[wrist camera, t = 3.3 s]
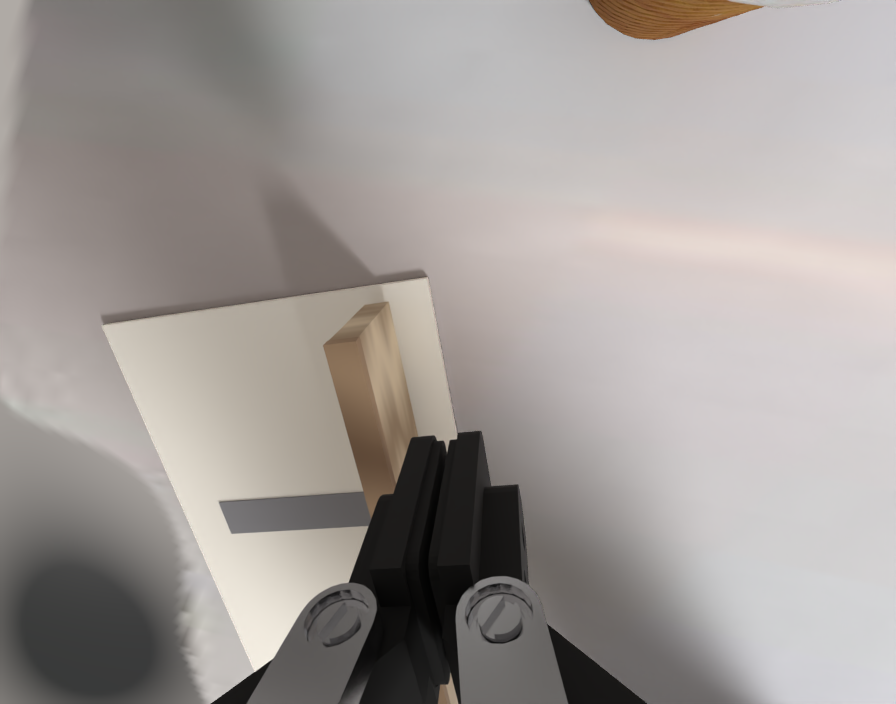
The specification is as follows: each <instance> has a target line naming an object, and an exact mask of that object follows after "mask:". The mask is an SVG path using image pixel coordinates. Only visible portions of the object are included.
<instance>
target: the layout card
mask: <svg viewBox="0 0 896 704" xmlns="http://www.w3.org/2000/svg"><path fill="white" fill-rule="evenodd" d="M388 301H389V305H390V310H391V314H392V319H393V323H394V328H395V333H396V337H397V342H398V346H399V351H400V355H401V360H402V364H403V369H404V374H405V378H406V383H407V387H408V392H409V396H410V401H411V406H412V410H413V415H414V419H415V424H416V428H417V433H418V437H420V436H431V435H434V436H435V437H436V439H437V441H444V442H445V446H446V450H447V451H448V446H449V441H450V440H454V439H457V429H456V424H455V419H454V413H453V408H452V402H451V397H450V392H449V386H448V381H447V376H446V370H445V365H444V359H443V354H442V349H441V343H440V338H439V333H438V327H437V322H436V316H435V311H434V306H433V300H432V295H431V290H430V284H429V279H428V277H423V278H416V279H409V280H402V281H396V282H389V283H382V284H375V285H368V286H361V287H354V288H348V289H341V290H334V291H327V292H320V293H313V294H306V295H300V296H293V297H286V298H279V299H272V300H265V301H259V302H252V303H245V304H238V305H231V306H224V307H217V308H211V309H204V310H197V311H190V312H183V313H176V314H170V315H163V316H156V317H149V318H142V319H135V320H128V321H122V322H115V323H108V324H105V325H102V328H103V330H104V333H105V335H106V337H107V339H108V342H109V344H110V346H111V348H112V351H113V353H114V355H115V358H116V360H117V362H118V364H119V367H120V369H121V371H122V373H123V376H124V378H125V380H126V382H127V385H128V387H129V389H130V391H131V394H132V396H133V398H134V400H135V403H136V405H137V407H138V409H139V412H140V414H141V416H142V418H143V421H144V423H145V425H146V428H147V430H148V432H149V434H150V437H151V439H152V441H153V443H154V446H155V448H156V450H157V452H158V455H159V457H160V459H161V461H162V464H163V466H164V468H165V470H166V473H167V475H168V477H169V479H170V482H171V484H172V486H173V488H174V491H175V493H176V495H177V497H178V500H179V502H180V504H181V507H182V509H183V511H184V513H185V516H186V518H187V520H188V522H189V525H190V527H191V529H192V531H193V534H194V536H195V538H196V540H197V543H198V545H199V547H200V549H201V552H202V554H203V556H204V558H205V561H206V563H207V565H208V567H209V570H210V572H211V574H212V577H213V579H214V581H215V583H216V586H217V588H218V590H219V592H220V595H221V597H222V599H223V601H224V604H225V606H226V608H227V610H228V613H229V615H230V617H231V619H232V622H233V624H234V626H235V628H236V631H237V633H238V635H239V637H240V640H241V642H242V644H243V647H244V649H245V651H246V653H247V656H248V658H249V660H250V662H251V665H252V667H253V669H254V671H257V670H258V669H259V668H261V667H262V666H264V665H265V664H266V663H268V662H269V661H271V660H272V659H273V658H274V657H275V655H276V653H277V652H278V650H279V648H280V646H281V645H282V643H283V641H284V640H285V638H286V636H287V635H288V633H289V631H290V630H291V628H292V626H293V625H294V623H295V621H296V619H297V618H298V616H299V614H300V613H301V611H302V610H303V609H304V607H305V606H306V605H307V604H308V602H309V601H310V600H312V599H313V598H314V597H315V596H316V595H317V594H319V593H320V592H322V591H324V590H326V589H328V588H329V587H332V586H335V585H338V584H342V583H349V580H350V577H351V574H352V571H353V569H354V566H355V563H356V560H357V557H358V555H359V552H360V549H361V546H362V543H363V541H364V538H365V535H366V532H367V529H368V527H369V524H370V521H371V517H370V513H369V510H368V506H367V502H366V499H365V495H364V492H363V488H362V484H361V481H360V477H359V474H358V470H357V466H356V463H355V459H354V456H353V452H352V448H351V445H350V441H349V438H348V434H347V430H346V427H345V423H344V420H343V416H342V412H341V409H340V405H339V402H338V398H337V394H336V391H335V387H334V384H333V380H332V376H331V373H330V369H329V366H328V362H327V358H326V355H325V351H324V348H323V345H324V344H325V343H326V342H327V341H329V340H330V339H331V338H332V337H333V336H334V335H335V334H336V333H337V332H338V331H339V330H340V329H341V328H342V327H343V326H344V325H345V324H346V323H347V322H348V321H349V320H350V319H351V318H352V317H353V316H354V315H355V314H356V313H357V312H358V311H359V310H360V309H361V308H362V307H363V306H364V305H367V304H374V303H381V302H388ZM438 704H458V700H457V696H456V692H455V688H454V684H453V680H452V676H451V673H450V681H449V684H448V685H440V691H439V700H438Z"/></svg>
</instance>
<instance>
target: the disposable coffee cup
mask: <svg viewBox="0 0 896 704" xmlns="http://www.w3.org/2000/svg"><path fill="white" fill-rule="evenodd" d="M589 1H590V3H591V5H592V6H593V8H594V10H595V11H596V13H597V14H598V15H599V16H600V17H601V18H602V19H603V20H604V21H605V22H606V23H607V24H608V25H610V26H611V27H613V28H614V29H616V30H618V31H619V32H621V33H623V34H625V35H628V36H631V37H633V38H639V39H652V40H656V39H663V38H670V37H673V36H676V35H679V34H682V33H685V32H687V31H690V30H693V29H696V28H699V27H702V26H705V25H709V24H713V23H715V22H718V21H721V20H724V19H727V18H730V17H733V16H737V15H740V14H743V13H745V12H748V11H751V10H755V9H759V8H762V7H764V6H765V7H772V8H787V7H798V6H809V5H819V4H829V3H833V2H837V1H841V0H589Z"/></svg>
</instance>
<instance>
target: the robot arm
mask: <svg viewBox="0 0 896 704" xmlns="http://www.w3.org/2000/svg"><path fill="white" fill-rule="evenodd" d="M450 673H451V676H452V680H453V684H454V688H455V692H456V696H457V700H458V704H647V703H646V702H644V701H643V700H642V699H640V698H639V697H638V696H637V695H635V694H634V693H633V692H632V691H630V690H629V689H628V688H627V687H625V686H624V685H623V684H622V683H620V682H619V681H618V680H617V679H615V678H614V677H613V676H612V675H610V674H609V673H608V672H607V671H605V670H604V669H603V668H602V667H600V666H599V665H598V664H597V663H595V662H594V661H593V660H592V659H590V658H589V657H588V656H587V655H585V654H584V653H583V652H582V651H580V650H579V649H578V648H577V647H575V646H574V645H573V644H572V643H570V642H569V641H568V640H567V639H565V638H564V637H563V636H562V635H560V634H559V633H558V632H556V631H555V630H554V629H553V628H551V627H550V626H549V625H548V624H547V622H546V618H545V615H544V611H543V607H542V604H541V602H540V599H539V597H538V595H537V593H536V592H535V591H534V590H533V589H532V588H531V587H530V586H529V581H528V565H527V550H526V538H525V528H524V519H523V511H522V504H521V497H520V491H519V486H518V485H505V486H491V483H490V477H489V471H488V465H487V459H486V453H485V447H484V441H483V436H482V432H481V431H474V432H463V433H458V435H457V439H454V440H450V441H449V446H448V451H447V450H446V446H445V442H444V441H437V439H436V437H435V436H434V435H431V436H420V437H412V438H411V440H410V443H409V446H408V449H407V452H406V455H405V458H404V461H403V465H402V468H401V471H400V474H399V477H398V480H397V483H396V487H395V490H394V493H393V494H383V495H381V496H380V497H379V499H378V501H377V504H376V507H375V510H374V513H373V515H372V518H371V521H370V524H369V527H368V529H367V532H366V535H365V538H364V541H363V543H362V546H361V549H360V552H359V555H358V557H357V560H356V563H355V566H354V569H353V571H352V574H351V577H350V580H349V583H342V584H338V585H335V586H332V587H329V588H328V589H326V590H324V591H322V592H320V593H319V594H317V595H316V596H315V597H314V598H313V599H312V600H310V601H309V602H308V604H307V605H306V606H305V607H304V609H303V610H302V611H301V613H300V614H299V616H298V618H297V619H296V621H295V623H294V625H293V626H292V628H291V630H290V631H289V633H288V635H287V636H286V638H285V640H284V641H283V643H282V645H281V646H280V648H279V650H278V652H277V653H276V655H275V657H274V658H273V659H272V660H271V661H269V662H268V663H266V664H265V665H264V666H262V667H261V668H259V669H258V670H257V671H255V672H254V673H253V674H251V675H250V676H248V677H247V678H246V679H244V680H243V681H242V682H240V683H239V684H237V685H236V686H235V687H233V688H232V689H231V690H229V691H228V692H226V693H225V694H224V695H222V696H221V697H220V698H218V699H217V700H215V701H214V702H213V703H211V704H438V700H439V691H440V685H448V684H449V681H450Z"/></svg>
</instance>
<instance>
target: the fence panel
mask: <svg viewBox="0 0 896 704" xmlns="http://www.w3.org/2000/svg"><path fill="white" fill-rule="evenodd" d="M323 348H324V351H325V355H326V358H327V362H328V366H329V369H330V373H331V376H332V380H333V384H334V387H335V391H336V394H337V398H338V402H339V405H340V409H341V412H342V416H343V420H344V423H345V427H346V430H347V434H348V438H349V441H350V445H351V448H352V452H353V456H354V459H355V463H356V466H357V470H358V474H359V477H360V481H361V484H362V488H363V492H364V495H365V499H366V502H367V506H368V510H369V513H370V517H371V518H372V515H373V513H374V510H375V507H376V504H377V501H378V499H379V497H380V496H381V495H383V494H393V493H394V490H395V487H396V483H397V480H398V477H399V474H400V471H401V468H402V465H403V461H404V458H405V455H406V452H407V449H408V446H409V443H410V440H411V438H412V437H418V433H417V428H416V424H415V419H414V415H413V410H412V406H411V401H410V396H409V392H408V387H407V383H406V378H405V374H404V369H403V364H402V360H401V355H400V351H399V346H398V342H397V337H396V333H395V328H394V323H393V319H392V314H391V310H390V305H389V301H388V302H381V303H374V304H367V305H364V306H363V307H362V308H361V309H360V310H359V311H358V312H357V313H356V314H355V315H354V316H353V317H352V318H351V319H350V320H349V321H348V322H347V323H346V324H345V325H344V326H343V327H342V328H341V329H340V330H339V331H338V332H337V333H336V334H335V335H334V336H333V337H332V338H331V339H330V340H329V341H327V342H326V343H325V344H324V345H323Z"/></svg>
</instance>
